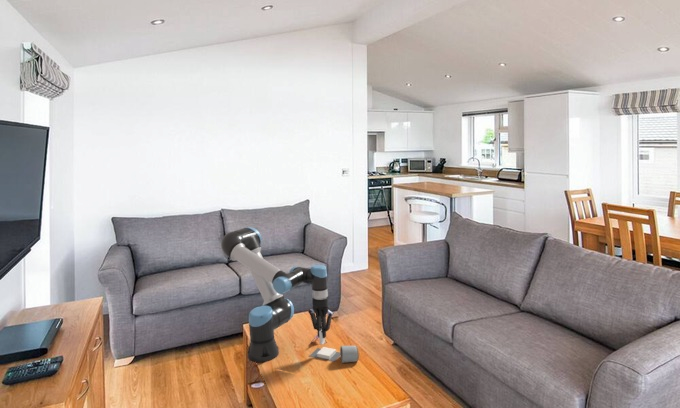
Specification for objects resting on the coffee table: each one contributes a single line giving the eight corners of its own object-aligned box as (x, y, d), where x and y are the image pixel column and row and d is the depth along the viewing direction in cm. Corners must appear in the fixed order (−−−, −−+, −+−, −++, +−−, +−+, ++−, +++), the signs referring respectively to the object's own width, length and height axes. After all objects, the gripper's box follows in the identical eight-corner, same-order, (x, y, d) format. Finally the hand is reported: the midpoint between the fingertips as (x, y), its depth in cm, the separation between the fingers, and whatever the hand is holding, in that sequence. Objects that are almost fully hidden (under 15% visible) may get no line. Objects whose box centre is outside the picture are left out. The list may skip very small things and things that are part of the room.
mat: (308, 357, 206) (308, 356, 206) (317, 348, 214) (317, 348, 214) (334, 362, 200) (334, 361, 200) (342, 353, 208) (342, 353, 208)
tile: (316, 353, 205) (329, 356, 202) (323, 346, 211) (335, 349, 208) (316, 356, 205) (329, 359, 202) (323, 350, 212) (336, 352, 208)
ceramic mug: (359, 364, 198) (359, 348, 197) (342, 366, 197) (341, 350, 196) (355, 353, 208) (354, 338, 207) (339, 355, 207) (338, 340, 206)
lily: (328, 337, 228) (319, 322, 229) (339, 336, 219) (329, 320, 219) (312, 351, 222) (302, 335, 222) (321, 351, 212) (312, 334, 212)
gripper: (304, 298, 203) (306, 344, 206) (328, 301, 197) (330, 349, 201) (312, 293, 210) (314, 338, 213) (335, 296, 204) (337, 342, 207)
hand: (322, 343), depth 207 cm, fingers closed
